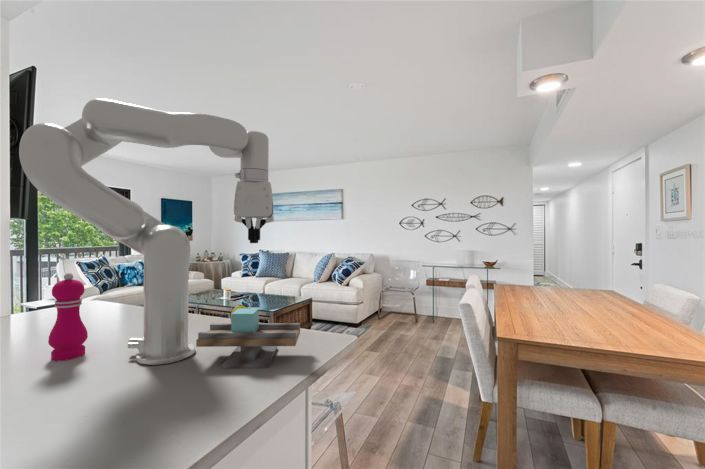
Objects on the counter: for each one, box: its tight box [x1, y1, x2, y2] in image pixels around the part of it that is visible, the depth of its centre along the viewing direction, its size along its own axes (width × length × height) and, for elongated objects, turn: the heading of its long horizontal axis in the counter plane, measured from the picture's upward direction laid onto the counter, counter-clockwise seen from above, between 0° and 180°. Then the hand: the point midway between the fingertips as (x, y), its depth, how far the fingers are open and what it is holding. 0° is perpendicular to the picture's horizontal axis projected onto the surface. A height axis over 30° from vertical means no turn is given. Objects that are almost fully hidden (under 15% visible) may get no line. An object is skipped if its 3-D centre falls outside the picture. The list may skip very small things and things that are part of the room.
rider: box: [230, 307, 260, 332], centre depth 80 cm, size 5×5×5 cm
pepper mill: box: [48, 272, 89, 362], centre depth 80 cm, size 7×7×20 cm
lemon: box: [230, 303, 247, 315], centre depth 102 cm, size 6×6×8 cm
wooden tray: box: [195, 322, 301, 369], centre depth 81 cm, size 22×12×7 cm, turn 93°
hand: (254, 242), depth 94 cm, fingers closed
